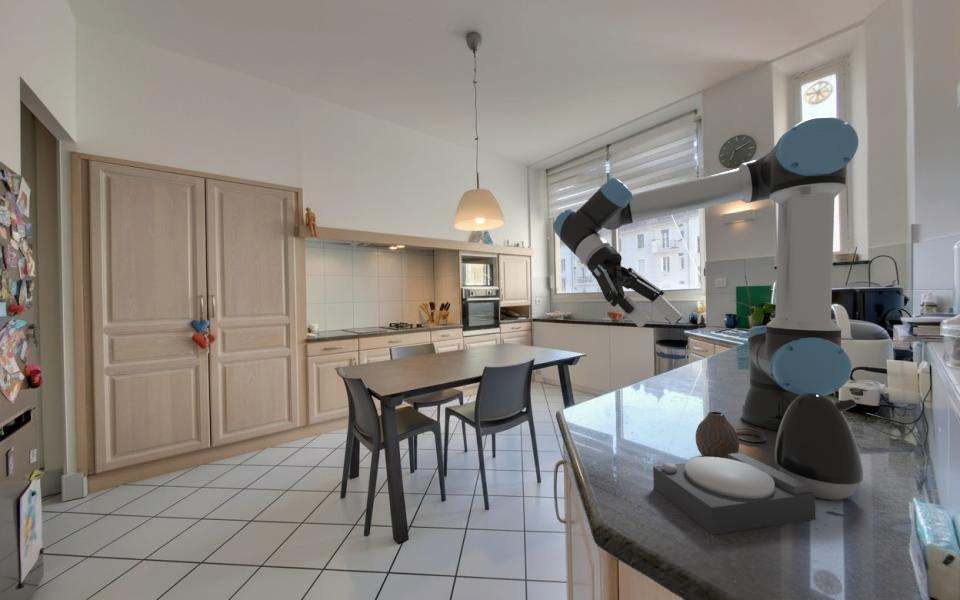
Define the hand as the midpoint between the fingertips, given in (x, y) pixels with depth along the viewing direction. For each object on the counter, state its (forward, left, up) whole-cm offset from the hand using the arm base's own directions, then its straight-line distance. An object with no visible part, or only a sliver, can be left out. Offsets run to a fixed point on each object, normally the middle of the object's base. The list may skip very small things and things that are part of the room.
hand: (662, 321), depth 77 cm
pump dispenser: (-11, +22, -26) cm, 35 cm away
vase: (-5, +9, -26) cm, 28 cm away
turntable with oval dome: (+5, +22, -26) cm, 34 cm away
